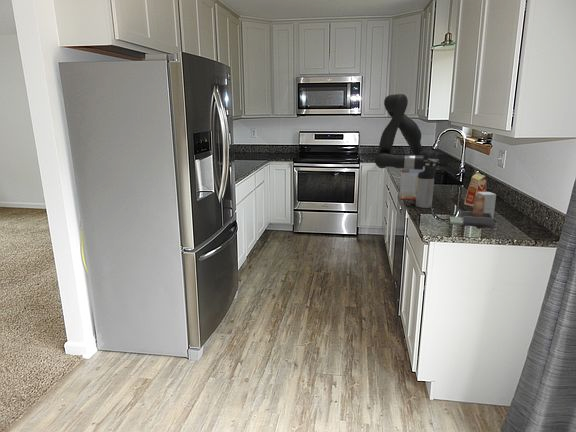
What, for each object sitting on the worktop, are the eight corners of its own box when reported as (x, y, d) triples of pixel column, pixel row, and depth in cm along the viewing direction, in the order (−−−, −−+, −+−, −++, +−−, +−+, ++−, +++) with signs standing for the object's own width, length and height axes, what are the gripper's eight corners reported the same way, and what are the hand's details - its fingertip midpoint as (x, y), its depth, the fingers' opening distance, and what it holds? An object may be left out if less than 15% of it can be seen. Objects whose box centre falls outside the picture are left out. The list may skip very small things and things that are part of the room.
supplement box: (486, 213, 231) (489, 191, 228) (493, 217, 224) (496, 194, 220) (474, 213, 231) (476, 191, 227) (480, 217, 223) (483, 194, 220)
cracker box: (420, 198, 271) (423, 166, 266) (422, 200, 265) (425, 167, 260) (398, 197, 272) (400, 166, 267) (400, 199, 267) (402, 167, 261)
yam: (471, 218, 214) (474, 193, 211) (482, 219, 212) (485, 193, 209) (472, 220, 210) (474, 194, 207) (482, 221, 208) (485, 195, 205)
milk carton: (464, 203, 255) (467, 171, 250) (475, 202, 258) (479, 170, 253) (475, 207, 247) (479, 173, 242) (487, 205, 250) (491, 173, 245)
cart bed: (449, 218, 221) (450, 210, 220) (490, 221, 215) (491, 213, 213) (450, 224, 210) (451, 215, 209) (493, 227, 204) (494, 218, 202)
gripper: (413, 156, 207) (448, 157, 202) (415, 153, 220) (447, 154, 215) (412, 171, 209) (446, 172, 204) (414, 167, 222) (446, 168, 217)
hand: (447, 163), depth 209 cm, fingers open, 8 cm apart
